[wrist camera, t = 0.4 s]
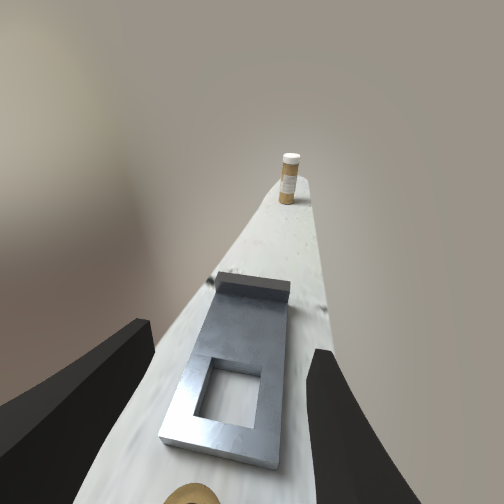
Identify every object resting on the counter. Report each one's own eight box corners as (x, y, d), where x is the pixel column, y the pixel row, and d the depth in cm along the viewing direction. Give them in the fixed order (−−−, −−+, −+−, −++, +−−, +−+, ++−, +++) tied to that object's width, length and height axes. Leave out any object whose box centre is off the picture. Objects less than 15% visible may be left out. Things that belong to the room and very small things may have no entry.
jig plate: (276, 470, 21) (282, 455, 18) (163, 443, 22) (151, 426, 19) (286, 303, 37) (290, 281, 34) (220, 293, 38) (218, 271, 35)
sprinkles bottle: (281, 197, 71) (286, 151, 63) (295, 200, 70) (302, 154, 62) (276, 202, 68) (281, 155, 60) (290, 206, 66) (298, 157, 58)
